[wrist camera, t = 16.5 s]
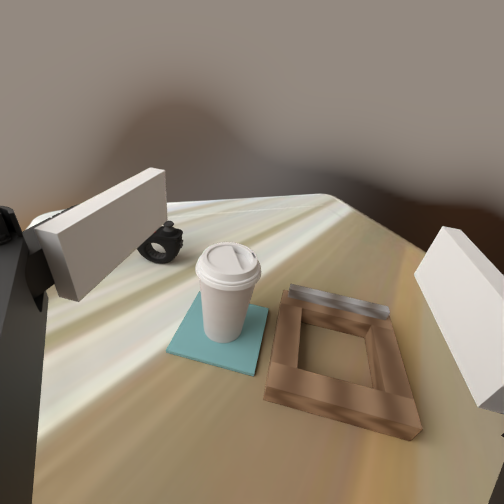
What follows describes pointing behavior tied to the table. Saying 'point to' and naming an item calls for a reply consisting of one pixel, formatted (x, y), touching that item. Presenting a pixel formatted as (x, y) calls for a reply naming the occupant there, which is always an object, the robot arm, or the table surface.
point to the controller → (162, 244)
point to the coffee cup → (226, 288)
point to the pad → (220, 354)
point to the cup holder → (334, 390)
